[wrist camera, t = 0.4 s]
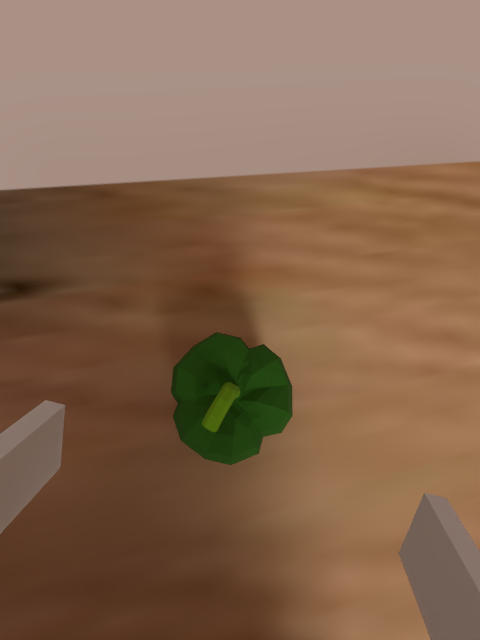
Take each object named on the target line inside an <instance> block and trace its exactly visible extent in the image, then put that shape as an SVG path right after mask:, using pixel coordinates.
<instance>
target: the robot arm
mask: <svg viewBox="0 0 480 640" xmlns="http://www.w3.org/2000/svg"><path fill="white" fill-rule="evenodd" d="M64 416H65V405H64V404H59V403H55V402H51V401H47V400H45V401H44V402H42V403H41V404H39V405H38V406H37V407H35V408H34V409H33V410H31V411H30V412H29V413H27V414H26V415H25V416H23V417H22V418H21V419H19V420H18V421H17V422H15V423H14V424H13V425H11V426H10V427H9V428H7V429H6V430H5V431H3V432H2V433H0V534H1V533H2V532H3V531H4V530H5V528H6V527H7V526H8V525H9V524H10V523H11V522H12V521H13V520H14V518H15V517H16V516H17V515H18V514H19V513H20V512H21V511H22V510H23V509H24V507H25V506H26V505H27V504H28V503H29V502H30V501H31V500H32V499H33V497H34V496H35V495H36V494H37V493H38V492H39V491H40V490H41V489H42V488H43V486H44V485H45V484H46V483H47V482H48V481H49V480H50V479H51V478H52V476H53V475H54V474H55V473H56V472H57V471H58V470H59V469H60V467H61V454H62V442H63V429H64ZM399 555H400V558H401V561H402V563H403V566H404V569H405V571H406V574H407V577H408V579H409V582H410V585H411V587H412V590H413V593H414V595H415V598H416V601H417V603H418V606H419V609H420V611H421V614H422V617H423V619H424V622H425V625H426V627H427V630H428V633H429V636H430V638H431V640H480V551H479V549H478V548H477V546H476V545H475V543H474V541H473V540H472V538H471V537H470V535H469V533H468V532H467V530H466V529H465V527H464V525H463V524H462V522H461V521H460V519H459V517H458V516H457V514H456V513H455V511H454V509H453V508H452V506H451V505H450V503H449V501H448V500H447V498H444V497H440V496H436V495H432V494H428V493H424V495H423V497H422V500H421V502H420V504H419V507H418V509H417V511H416V514H415V516H414V518H413V521H412V523H411V526H410V528H409V530H408V533H407V535H406V537H405V540H404V542H403V544H402V547H401V549H400V552H399Z"/></svg>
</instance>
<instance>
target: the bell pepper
mask: <svg viewBox="0 0 480 640" xmlns="http://www.w3.org/2000/svg"><path fill="white" fill-rule="evenodd" d="M171 393H172V395H173V397H174V398H175V400H176V401H177V403H178V405H177V407H176V410H175V412H174V415H173V418H174V421H175V424H176V427H177V430H178V433H179V436H180V439H181V441H182V442H184V443H185V444H186V445H188V446H189V447H190V448H191V449H193V450H194V451H195V452H197V453H198V454H199V455H201V456H202V457H203V458H205V459H208V460H212V461H216V462H221V463H225V464H229V465H232V464H235V463H237V462H239V461H242V460H244V459H246V458H249V457H251V456H253V455H256V454H258V453H259V450H260V446H261V442H262V438H263V437H264V436H268V435H273V434H277V433H281V432H282V431H283V429H284V428H285V426H286V425H287V423H288V422H289V420H290V419H291V417H292V385H291V383H290V380H289V378H288V375H287V373H286V370H285V368H284V366H283V363H282V361H281V358H280V357H278V356H277V355H276V354H275V353H273V352H272V351H271V350H270V349H269V348H267V347H266V346H265V345H264V344H263V345H260V346H257V347H254V348H251V349H249V348H248V347H247V346H246V344H245V343H244V342H243V341H242V340H241V338H238V337H234V336H230V335H226V334H221V333H217V332H216V333H215V334H213V335H211V336H210V337H208V338H206V339H205V340H203V341H201V342H200V343H198V344H197V345H195V346H193V347H192V348H191V349H190V350H189V352H188V353H187V354H186V355H185V356H184V357H183V358H182V359H181V360H180V361H179V363H178V364H177V365H176V366H175V367H174V369H173V378H172V388H171Z"/></svg>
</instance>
